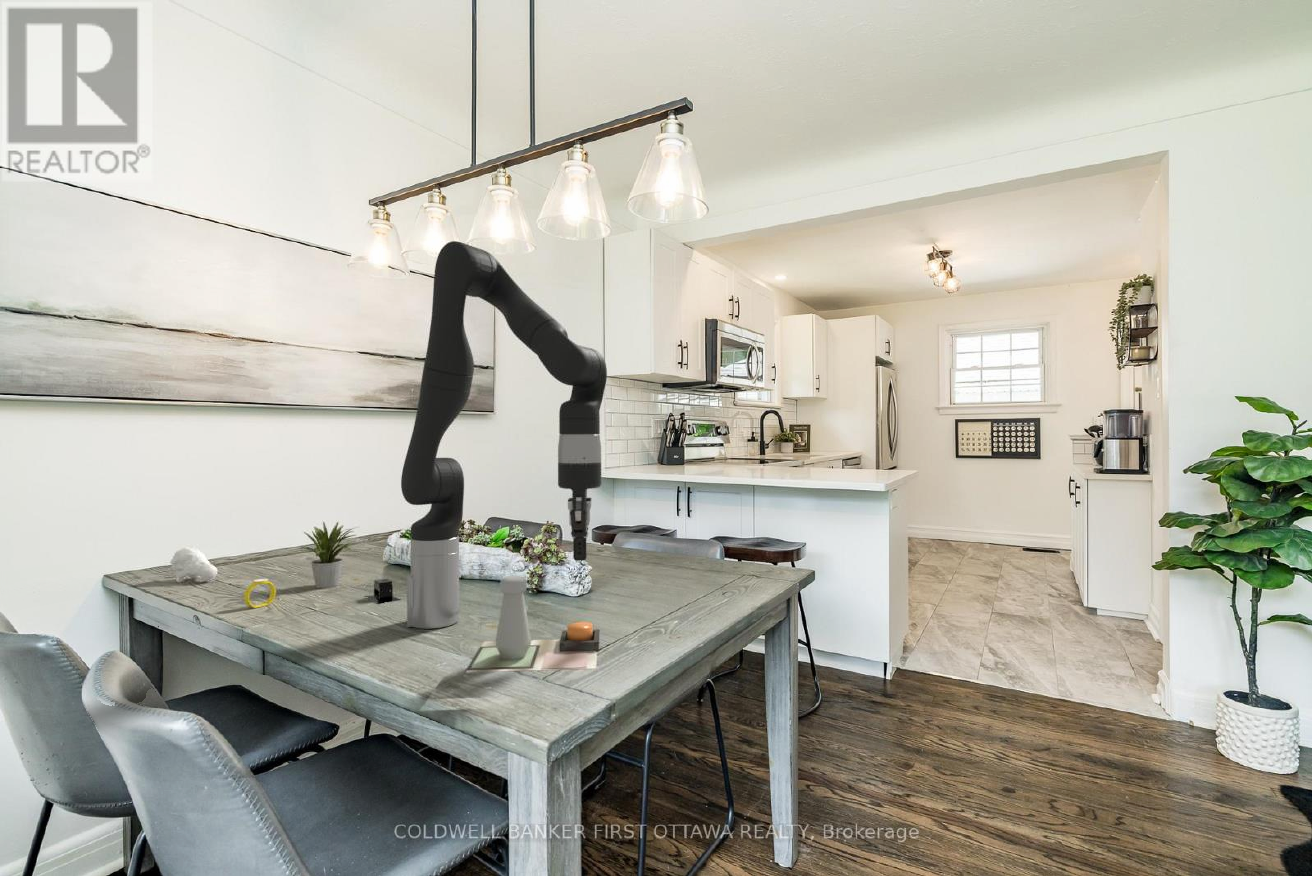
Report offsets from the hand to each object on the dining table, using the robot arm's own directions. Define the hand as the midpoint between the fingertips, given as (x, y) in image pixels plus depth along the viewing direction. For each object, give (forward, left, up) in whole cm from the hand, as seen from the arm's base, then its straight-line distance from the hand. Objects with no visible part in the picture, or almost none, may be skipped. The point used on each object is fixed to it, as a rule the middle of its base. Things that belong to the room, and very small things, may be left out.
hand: (580, 559), depth 105 cm
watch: (-72, +34, -16) cm, 81 cm away
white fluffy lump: (-102, +60, -16) cm, 119 cm away
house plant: (-65, +51, -16) cm, 84 cm away
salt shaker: (-11, -5, -15) cm, 19 cm away
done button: (0, 0, -14) cm, 14 cm away
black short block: (-47, +39, -17) cm, 64 cm away
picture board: (-7, -4, -16) cm, 18 cm away
